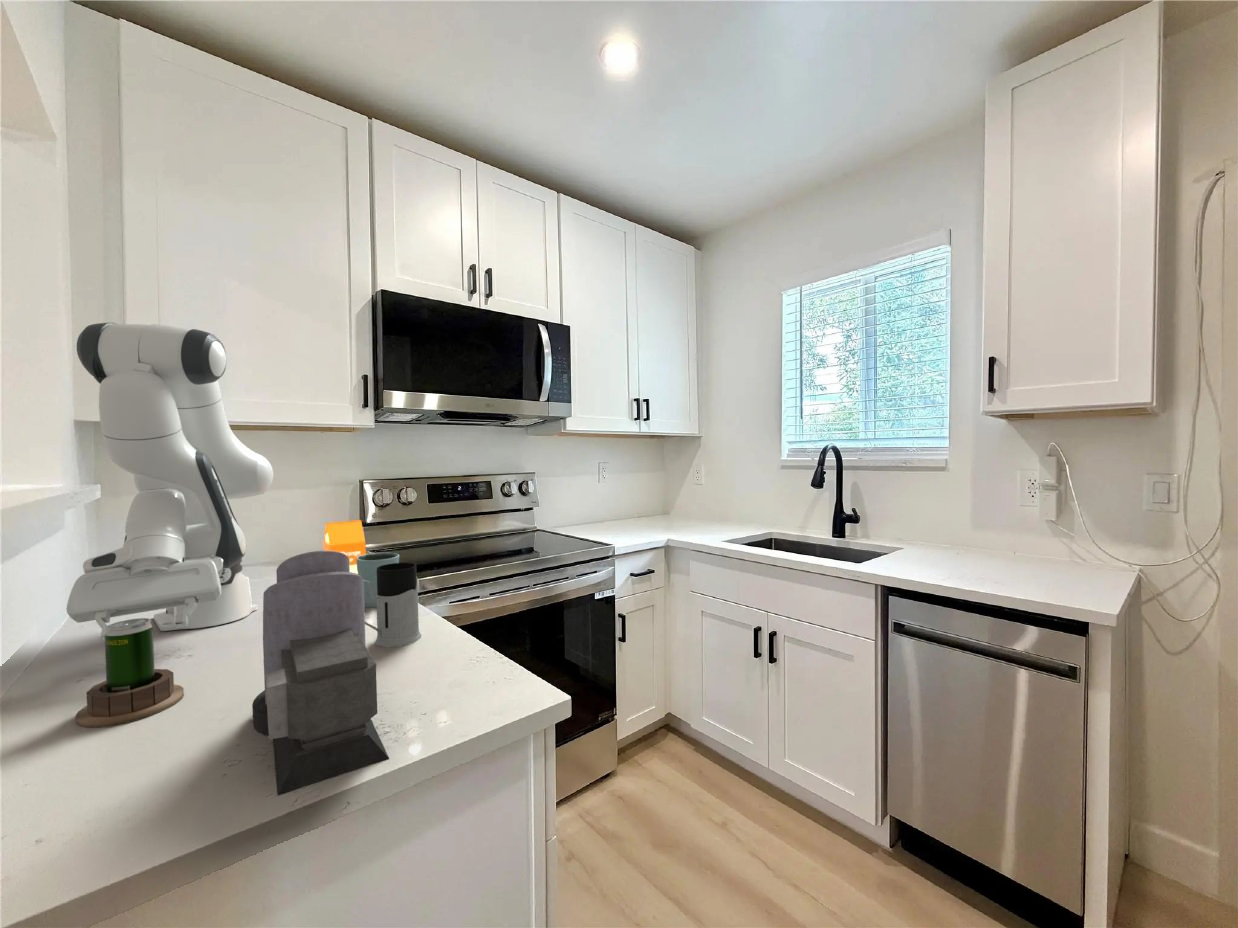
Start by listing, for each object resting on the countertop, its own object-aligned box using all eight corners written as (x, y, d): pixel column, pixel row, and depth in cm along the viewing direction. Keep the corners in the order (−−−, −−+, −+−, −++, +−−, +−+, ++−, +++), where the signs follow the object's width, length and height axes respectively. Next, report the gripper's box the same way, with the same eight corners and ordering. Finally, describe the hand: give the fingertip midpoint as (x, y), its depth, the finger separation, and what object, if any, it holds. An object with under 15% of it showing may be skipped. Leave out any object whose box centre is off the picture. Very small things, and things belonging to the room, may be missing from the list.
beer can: (147, 704, 79) (144, 625, 78) (100, 712, 76) (96, 631, 76) (160, 690, 83) (158, 615, 83) (116, 697, 81) (113, 620, 81)
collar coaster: (65, 713, 78) (64, 688, 78) (166, 682, 88) (166, 660, 88) (90, 735, 71) (89, 708, 71) (196, 699, 82) (196, 675, 82)
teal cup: (370, 596, 140) (369, 552, 139) (407, 596, 139) (406, 551, 139) (348, 608, 129) (347, 560, 129) (388, 608, 129) (387, 559, 129)
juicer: (252, 700, 81) (247, 544, 81) (365, 673, 91) (361, 533, 90) (253, 804, 57) (246, 582, 56) (407, 753, 66) (402, 562, 66)
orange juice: (367, 594, 142) (365, 521, 141) (330, 600, 136) (328, 524, 136) (359, 588, 148) (357, 518, 147) (324, 594, 142) (322, 521, 142)
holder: (430, 636, 108) (428, 564, 108) (364, 659, 97) (361, 579, 96) (405, 628, 113) (403, 560, 113) (339, 650, 102) (337, 573, 101)
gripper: (225, 561, 104) (224, 625, 96) (83, 580, 93) (70, 654, 86) (220, 544, 99) (219, 610, 92) (70, 562, 89) (55, 638, 81)
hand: (145, 631), depth 89 cm, fingers open, 8 cm apart
